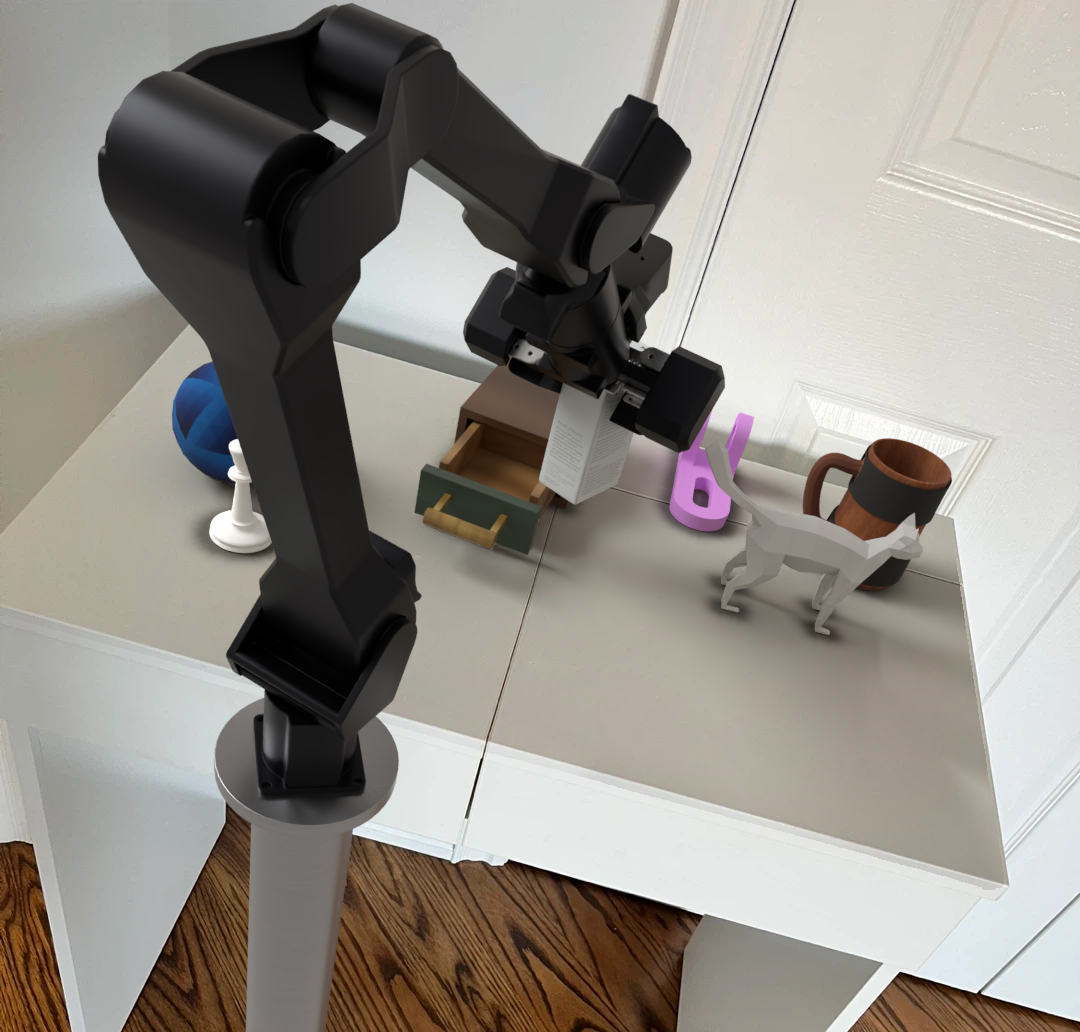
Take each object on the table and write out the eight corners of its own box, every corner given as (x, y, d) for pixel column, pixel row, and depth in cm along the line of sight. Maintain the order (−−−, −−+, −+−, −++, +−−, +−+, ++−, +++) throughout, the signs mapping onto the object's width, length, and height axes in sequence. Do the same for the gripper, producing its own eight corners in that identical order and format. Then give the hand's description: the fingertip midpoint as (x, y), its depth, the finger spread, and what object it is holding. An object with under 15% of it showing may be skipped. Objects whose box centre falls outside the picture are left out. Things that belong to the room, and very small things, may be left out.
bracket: (678, 455, 105) (700, 393, 100) (730, 470, 105) (754, 410, 100) (666, 520, 96) (689, 456, 91) (723, 537, 96) (749, 474, 91)
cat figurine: (875, 650, 88) (955, 516, 79) (654, 593, 87) (708, 450, 77) (869, 618, 92) (946, 486, 82) (657, 563, 90) (709, 422, 81)
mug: (782, 517, 101) (830, 411, 93) (897, 556, 100) (956, 453, 92) (774, 563, 94) (825, 454, 86) (897, 605, 94) (960, 500, 86)
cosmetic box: (580, 461, 87) (618, 327, 78) (618, 486, 85) (661, 352, 77) (534, 480, 83) (570, 341, 75) (573, 507, 81) (614, 368, 73)
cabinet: (565, 509, 93) (582, 451, 89) (449, 465, 94) (460, 406, 90) (604, 445, 103) (620, 390, 99) (498, 406, 104) (510, 350, 100)
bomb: (310, 452, 91) (321, 288, 80) (275, 519, 83) (282, 346, 73) (201, 426, 90) (198, 256, 80) (156, 490, 82) (145, 311, 72)
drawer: (510, 582, 82) (521, 539, 79) (393, 538, 83) (399, 493, 80) (569, 487, 94) (580, 446, 91) (466, 448, 95) (474, 407, 92)
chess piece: (211, 553, 78) (209, 439, 71) (207, 515, 81) (205, 402, 74) (276, 553, 80) (281, 442, 73) (270, 516, 83) (274, 406, 76)
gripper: (767, 253, 63) (761, 367, 78) (516, 145, 67) (556, 273, 82) (678, 407, 63) (689, 491, 78) (432, 290, 67) (488, 391, 82)
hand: (606, 406), depth 80 cm, fingers closed on cosmetic box, 4 cm apart
